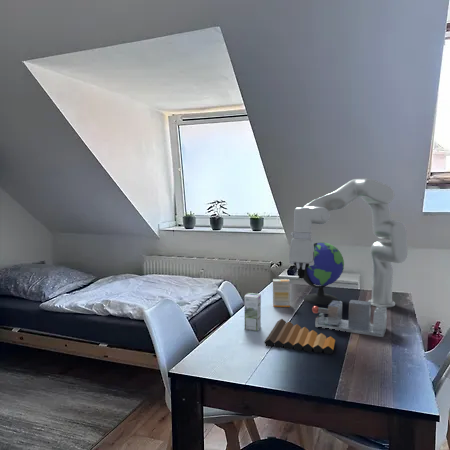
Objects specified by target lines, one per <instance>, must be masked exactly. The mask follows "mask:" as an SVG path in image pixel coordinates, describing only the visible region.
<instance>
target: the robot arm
mask: <svg viewBox="0 0 450 450" xmlns="http://www.w3.org/2000/svg"><path fill="white" fill-rule="evenodd" d="M359 198H361V200H362V201H363V202H364V203H365V204H367V205H368V206H369V208H370V210H371V215H372V216H371V217H372V218H371V219H372V220H371V221H372V222H371V223H372V233H373V235H374V236H375V237H376V238H378V239H382V240H377V241H375V242H373V243H372V244H371V246H370V255H371V262H372V264H371V265H372V267H371V268H372V270H371V271H372V273H371V274H372V275H371V276H372V277H371V299H368V300H367V302H371V306H373V307H376V306H379V307H387V308H393V307H395V306H396V302H395V301H394V300H393V282H394V281H393V279H394V277H393V275H394V268H393V264H392V263H394V264H402V263H404V262H405V261H406V259H407V258H408V250H409V249H408V233H407V232H408V231H407V226H406V225H405V223H404V222H403V221H400V220H395V219H392V213H391V208H390V205H389V204H390V203H392V202H393V201H394V199H395V191H394V188H392V187H391V186H390V185H388V184H387V183H383V182H380V181H378V180H375V179H373V178H353V179H351V180H349V181H348V182H346V183H345V184H343V185H342V186H340V187H339V188H337V189H336V190H334V191H332V192H330V193H326V194H324V195H323V196H320V197H318V198H315V199H313V200H311V201H310V202H308V203H306V204H305V205H304V206H303V207H296V208H294V211H293V232H290V236H291V237H292V238H291V241H290V245H289V246H290V247H289V255H288V258H289V264H290V265H294V266H295V267H296V269H297V276H298V279H301V280H302V279H303V278H304V277H305V269H306V268H307V267H308V266H313V265H314V240H313V239H312V230H313V229H312V226H313V225H312V224H315V225H324V224H326V223H328V222H329V220H330V218H331V212H330V211H335V210H336V211H337V210H341V209H344V208H346V207H347V206H349V205H350V204H351V203H353V202H354V201H356V200H357V199H359ZM387 240H388V241H387ZM301 263H303V266H302V267H301ZM303 280H304V279H303Z"/></svg>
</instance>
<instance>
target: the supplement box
mask: <svg viewBox="0 0 450 450" xmlns="http://www.w3.org/2000/svg"><path fill="white" fill-rule="evenodd" d="M272 305H273V307H274V308H290V307H291V282H290V279H289V278H272Z"/></svg>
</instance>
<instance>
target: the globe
mask: <svg viewBox="0 0 450 450" xmlns="http://www.w3.org/2000/svg"><path fill="white" fill-rule="evenodd" d="M313 244H314V265H313V266H308V267H307V268H306V269H305V277H304V278H303V280H304V281H305V283H306V284H308V285H309V286H311V287H313V288H316V289H318V290H317V293H316V292H315V293H314V292H313V293H309V294H306V295H305V296H304V298H303V301H305V303H309V304H314V305H324V306H325V305H326V306H328V305H329V304H330V303H331V302H332V301H333V300H334V301H339V299H338V297H337V296H335V295H332V294H329V293H325V290H324V288H326V287H328V285H332V284H333V283H335V282H336V281H337V280H338V279H339V278H340V277H341V275H342V274H343V272H344V268H345V261H344V257H343V254H342V252H341V251H340V250H339V249H338V248H337V247H336V246H335V245H332V243H328V242H313ZM302 266H303V263H301V267H302ZM327 304H328V305H327Z"/></svg>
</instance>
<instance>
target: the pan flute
mask: <svg viewBox="0 0 450 450" xmlns="http://www.w3.org/2000/svg"><path fill="white" fill-rule="evenodd" d="M271 329H272V330H271V331H270V333H269V334H268V336H267V337H266V339H265V340H264V345H265V347H268V348H269V347H270V348H273V347H275V348H277V349H283V347H284V349H285V350H286V349H287V350H292V349H294V350H295V351H302V350H303V351H304V352H314V353H318V352H320V354H322V353H323V354H329V355H332V354H333V351H334V348H335V343H336V339H335V338H333V337H332V336H329V337H327V336H326V334H324V333H322V332H320V333H319V334H318V332H317V331H315V330H314V329H312V330H309V329H308V328H307V327H306V326H304V327H301V326H300V325H299V324H298V323H296V324H293V322H291V321H290V320H289V321H287V322H286V320H285V319H283V318H280V319H279V320H278V321H277V322H275V325H274V326H273V328H271ZM312 350H313V351H312Z"/></svg>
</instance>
